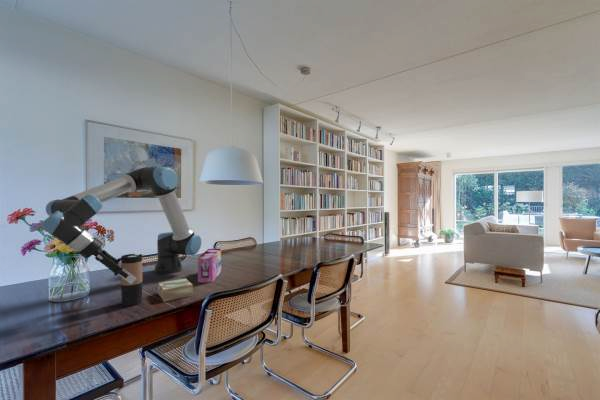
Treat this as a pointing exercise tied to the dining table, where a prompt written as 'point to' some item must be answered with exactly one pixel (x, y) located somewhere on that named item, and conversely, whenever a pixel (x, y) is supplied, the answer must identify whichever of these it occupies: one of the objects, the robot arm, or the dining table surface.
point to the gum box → (209, 265)
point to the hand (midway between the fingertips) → (131, 277)
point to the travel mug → (134, 290)
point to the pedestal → (175, 289)
